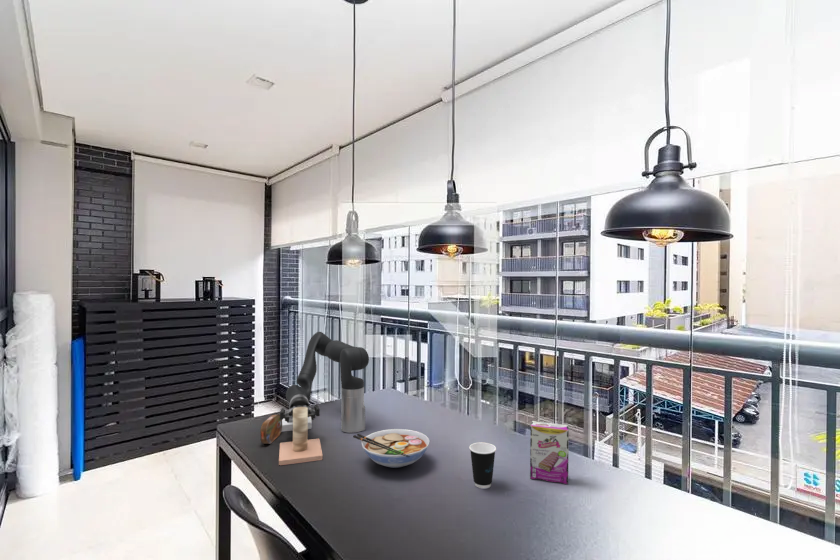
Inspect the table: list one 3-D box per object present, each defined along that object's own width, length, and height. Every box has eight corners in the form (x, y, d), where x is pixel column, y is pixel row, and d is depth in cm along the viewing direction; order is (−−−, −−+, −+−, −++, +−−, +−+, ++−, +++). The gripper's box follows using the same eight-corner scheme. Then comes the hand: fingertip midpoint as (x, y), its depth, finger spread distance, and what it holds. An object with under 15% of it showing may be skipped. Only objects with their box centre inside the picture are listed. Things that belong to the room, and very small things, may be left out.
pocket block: (310, 419, 179) (310, 413, 179) (311, 428, 167) (311, 422, 167) (281, 422, 175) (281, 416, 175) (280, 431, 164) (280, 425, 164)
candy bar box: (529, 479, 123) (529, 425, 124) (531, 472, 128) (530, 420, 128) (569, 485, 120) (568, 429, 120) (568, 477, 124) (568, 424, 125)
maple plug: (307, 445, 146) (307, 406, 146) (307, 450, 141) (307, 410, 142) (292, 447, 145) (292, 407, 145) (292, 452, 140) (292, 411, 140)
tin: (267, 447, 148) (267, 424, 148) (258, 447, 148) (258, 424, 148) (283, 432, 163) (283, 411, 163) (275, 432, 163) (275, 411, 164)
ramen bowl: (446, 463, 135) (446, 438, 135) (396, 488, 118) (396, 460, 118) (394, 443, 152) (394, 421, 152) (344, 463, 135) (344, 438, 135)
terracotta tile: (319, 442, 153) (319, 438, 153) (322, 459, 138) (322, 455, 138) (280, 446, 148) (280, 442, 148) (278, 465, 133) (278, 461, 133)
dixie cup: (495, 492, 116) (495, 454, 116) (467, 489, 117) (467, 451, 118) (496, 479, 123) (496, 443, 123) (470, 477, 125) (470, 441, 125)
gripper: (280, 397, 160) (279, 409, 145) (317, 394, 164) (320, 406, 149) (280, 417, 160) (279, 431, 145) (317, 413, 164) (320, 426, 149)
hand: (300, 418), depth 147 cm, fingers open, 8 cm apart
